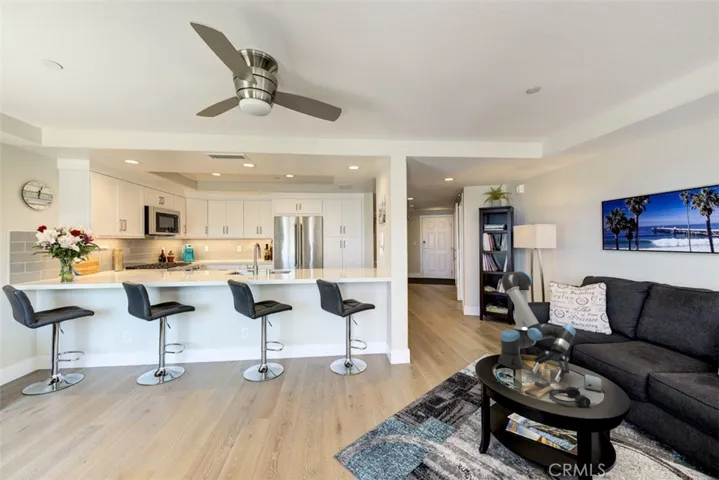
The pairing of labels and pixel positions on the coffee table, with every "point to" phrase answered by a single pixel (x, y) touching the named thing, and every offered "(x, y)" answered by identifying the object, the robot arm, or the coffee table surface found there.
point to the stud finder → (541, 383)
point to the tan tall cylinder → (546, 373)
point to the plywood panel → (536, 390)
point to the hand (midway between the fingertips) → (544, 376)
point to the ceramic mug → (593, 382)
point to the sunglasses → (502, 374)
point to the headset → (572, 393)
